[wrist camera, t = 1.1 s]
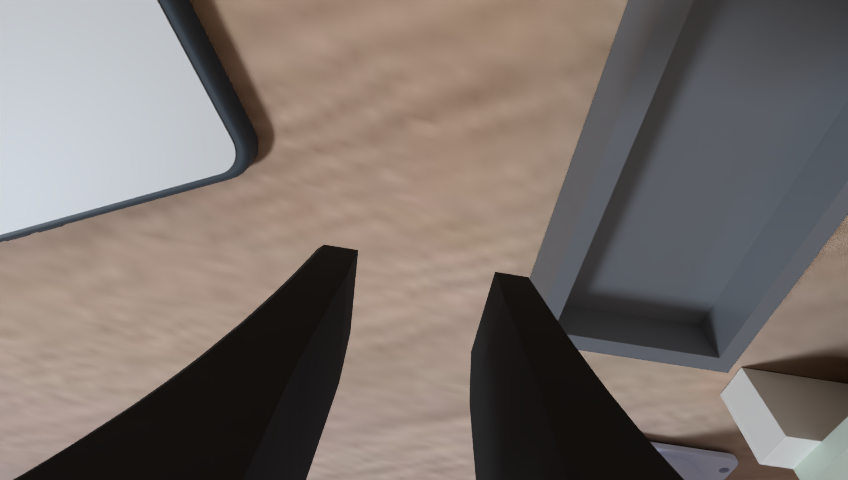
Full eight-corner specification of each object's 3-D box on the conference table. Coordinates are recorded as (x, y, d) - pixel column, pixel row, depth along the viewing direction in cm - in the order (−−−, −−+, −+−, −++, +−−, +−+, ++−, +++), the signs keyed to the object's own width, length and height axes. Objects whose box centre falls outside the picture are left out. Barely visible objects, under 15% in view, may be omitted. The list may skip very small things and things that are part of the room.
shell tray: (699, 326, 21) (727, 372, 19) (522, 298, 21) (530, 342, 19) (936, -34, 13) (1029, -27, 11) (659, -87, 13) (700, -90, 11)
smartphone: (143, -116, 14) (-241, 45, 17) (110, -120, 13) (-301, 55, 15) (277, 157, 18) (-44, 246, 21) (263, 175, 17) (-77, 267, 20)
